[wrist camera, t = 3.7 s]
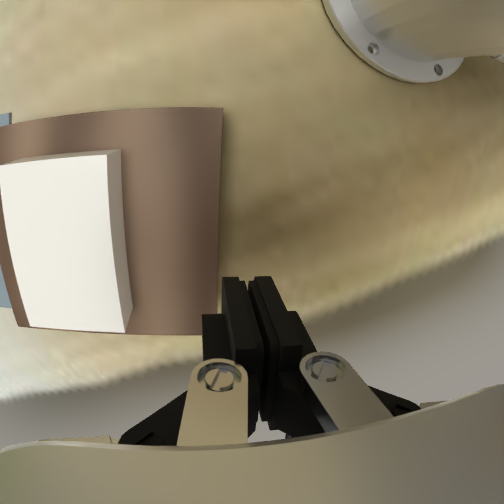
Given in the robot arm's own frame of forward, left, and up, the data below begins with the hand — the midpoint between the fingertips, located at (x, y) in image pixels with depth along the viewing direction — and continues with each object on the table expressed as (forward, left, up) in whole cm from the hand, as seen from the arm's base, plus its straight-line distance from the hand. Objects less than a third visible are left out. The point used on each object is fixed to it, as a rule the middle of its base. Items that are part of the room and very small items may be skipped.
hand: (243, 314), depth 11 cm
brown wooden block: (+8, -1, -11) cm, 13 cm away
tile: (+9, -1, -7) cm, 11 cm away
